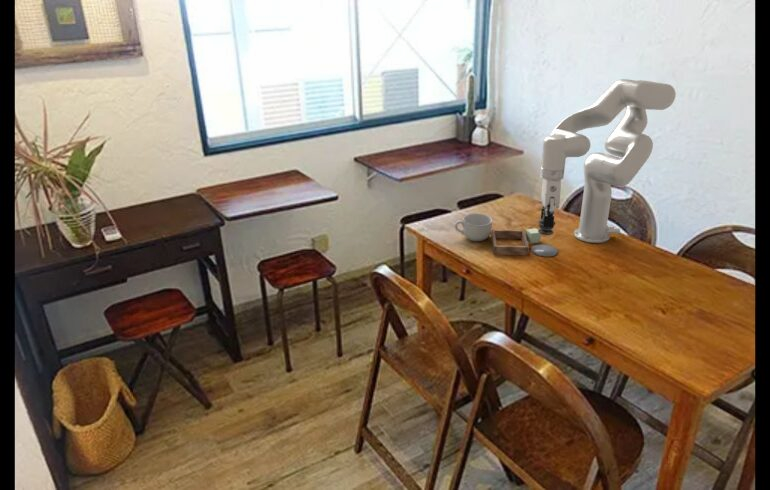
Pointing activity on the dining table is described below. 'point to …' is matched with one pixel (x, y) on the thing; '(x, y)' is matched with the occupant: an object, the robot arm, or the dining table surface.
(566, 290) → the dining table surface
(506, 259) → the dining table surface
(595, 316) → the dining table surface
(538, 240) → the sage block
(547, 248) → the slate coaster
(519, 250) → the walnut corral
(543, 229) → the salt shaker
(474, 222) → the teacup
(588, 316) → the dining table surface
